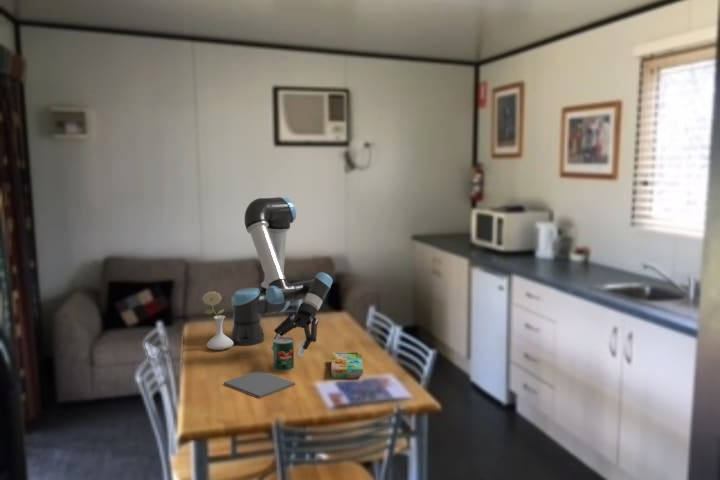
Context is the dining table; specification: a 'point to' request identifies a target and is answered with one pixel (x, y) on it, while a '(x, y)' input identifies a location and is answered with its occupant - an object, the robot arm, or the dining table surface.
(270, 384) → the mat
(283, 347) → the canned tomato
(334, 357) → the puzzle game
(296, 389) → the dining table surface
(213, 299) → the flower in vase
